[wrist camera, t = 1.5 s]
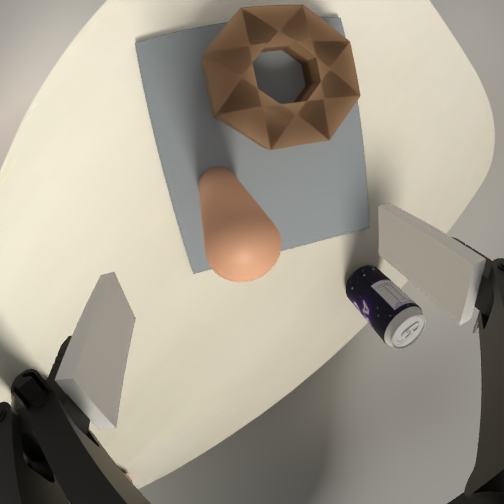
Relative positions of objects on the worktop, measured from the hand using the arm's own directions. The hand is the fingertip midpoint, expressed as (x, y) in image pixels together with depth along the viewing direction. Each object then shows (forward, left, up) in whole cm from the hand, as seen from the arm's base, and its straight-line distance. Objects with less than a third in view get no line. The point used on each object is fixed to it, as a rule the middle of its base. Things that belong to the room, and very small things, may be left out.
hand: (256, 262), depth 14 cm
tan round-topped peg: (0, 0, -18) cm, 18 cm away
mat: (+6, +4, -19) cm, 20 cm away
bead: (+8, +10, -18) cm, 22 cm away
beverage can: (+16, -17, -19) cm, 30 cm away
